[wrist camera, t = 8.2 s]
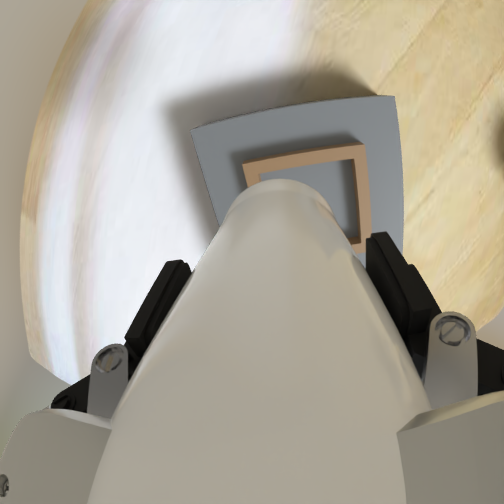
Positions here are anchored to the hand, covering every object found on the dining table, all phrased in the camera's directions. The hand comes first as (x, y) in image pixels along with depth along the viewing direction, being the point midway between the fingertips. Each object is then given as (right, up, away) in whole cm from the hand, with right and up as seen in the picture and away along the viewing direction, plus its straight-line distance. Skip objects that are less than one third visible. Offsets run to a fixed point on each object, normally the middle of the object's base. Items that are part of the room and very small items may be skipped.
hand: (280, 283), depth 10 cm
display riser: (+5, +8, +22) cm, 24 cm away
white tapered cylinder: (0, +2, +4) cm, 5 cm away
